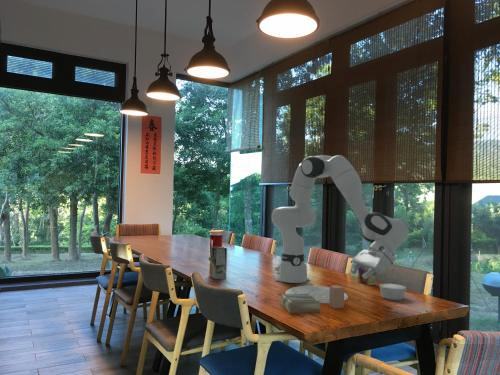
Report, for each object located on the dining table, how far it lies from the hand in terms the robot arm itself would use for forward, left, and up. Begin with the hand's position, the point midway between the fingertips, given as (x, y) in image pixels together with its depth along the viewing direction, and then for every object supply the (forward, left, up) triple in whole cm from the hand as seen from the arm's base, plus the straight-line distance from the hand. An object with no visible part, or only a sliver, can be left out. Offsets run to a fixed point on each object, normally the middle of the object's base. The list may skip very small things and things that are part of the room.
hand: (357, 275), depth 164 cm
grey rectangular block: (0, -9, -12) cm, 16 cm away
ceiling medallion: (-19, -10, -13) cm, 25 cm away
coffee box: (-61, -49, -13) cm, 79 cm away
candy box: (-38, +26, -13) cm, 48 cm away
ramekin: (-10, +23, -13) cm, 28 cm away
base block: (0, -25, -12) cm, 28 cm away
